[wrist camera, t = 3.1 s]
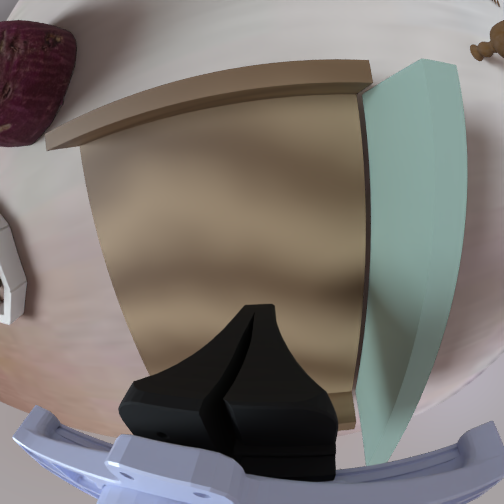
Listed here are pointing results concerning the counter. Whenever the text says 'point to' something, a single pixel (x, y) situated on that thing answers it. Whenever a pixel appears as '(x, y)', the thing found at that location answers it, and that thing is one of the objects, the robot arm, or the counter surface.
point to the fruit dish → (10, 277)
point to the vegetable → (32, 78)
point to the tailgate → (410, 242)
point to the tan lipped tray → (235, 210)
